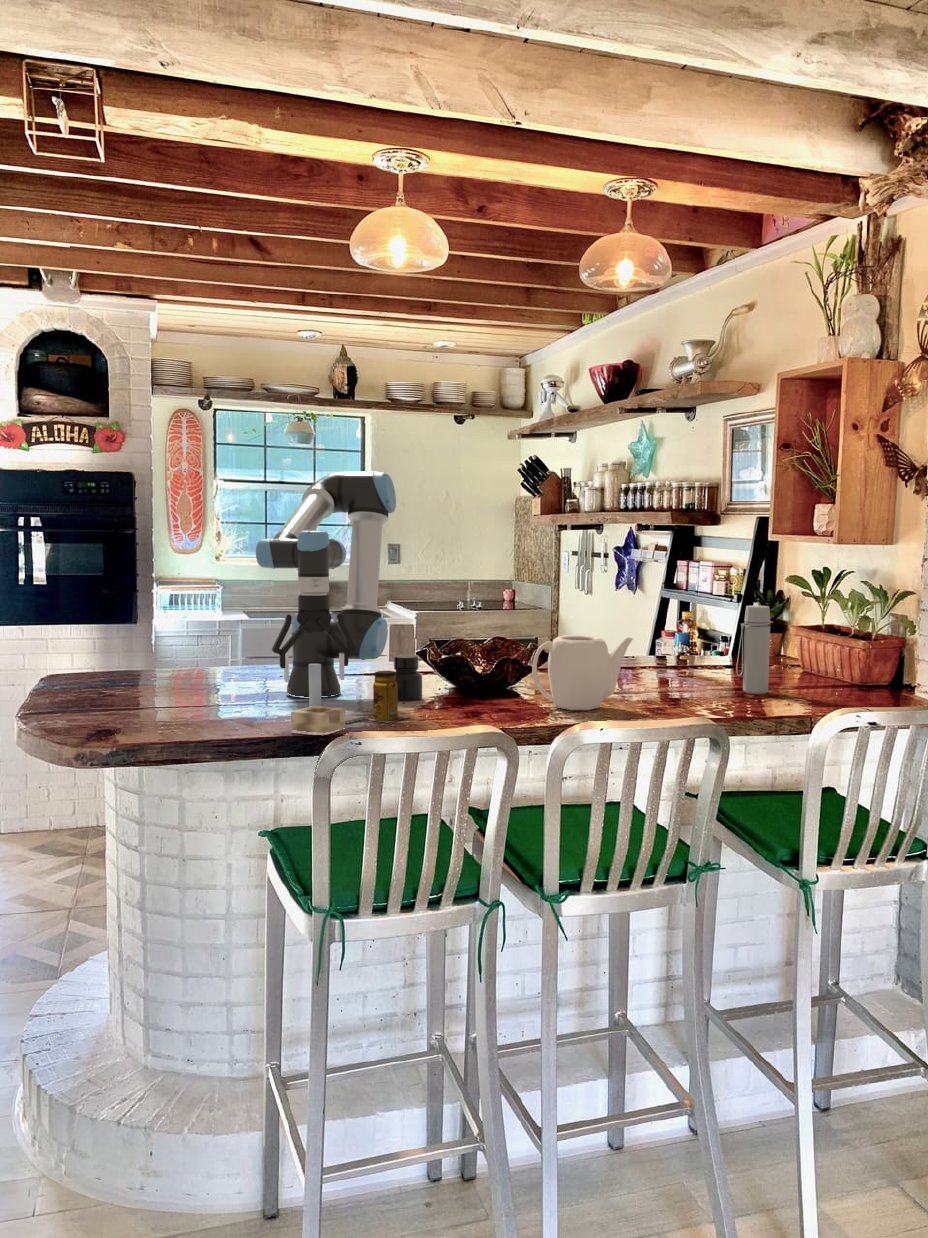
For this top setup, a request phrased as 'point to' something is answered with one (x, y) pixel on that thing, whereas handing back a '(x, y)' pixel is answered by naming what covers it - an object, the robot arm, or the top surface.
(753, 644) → the water bottle
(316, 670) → the white peg
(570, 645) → the watering can
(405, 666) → the ink bottle
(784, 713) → the top surface
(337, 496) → the robot arm
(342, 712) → the tan hollow square block
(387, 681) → the condiment
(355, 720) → the lace
